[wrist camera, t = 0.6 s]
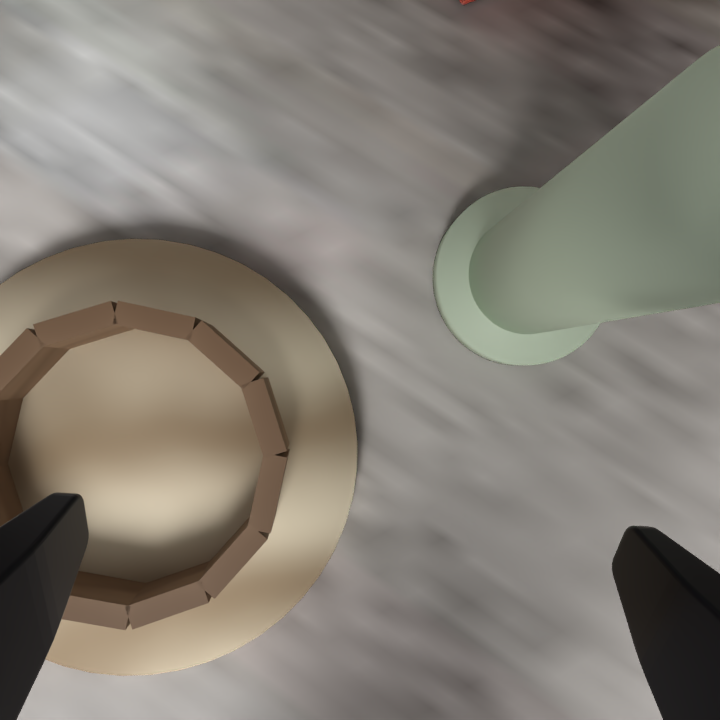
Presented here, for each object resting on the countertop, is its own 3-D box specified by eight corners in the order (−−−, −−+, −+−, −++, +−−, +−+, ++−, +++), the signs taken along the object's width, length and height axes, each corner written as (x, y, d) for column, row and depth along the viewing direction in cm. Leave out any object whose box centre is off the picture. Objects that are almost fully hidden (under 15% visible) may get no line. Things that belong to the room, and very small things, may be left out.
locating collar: (407, 578, 22) (421, 611, 19) (5, 722, 21) (-47, 781, 18) (283, 194, 22) (278, 167, 19) (-128, 316, 21) (-202, 307, 18)
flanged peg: (621, 335, 23) (1007, 290, 10) (463, 388, 23) (659, 411, 10) (569, 173, 23) (892, -77, 10) (410, 222, 23) (535, 23, 10)
